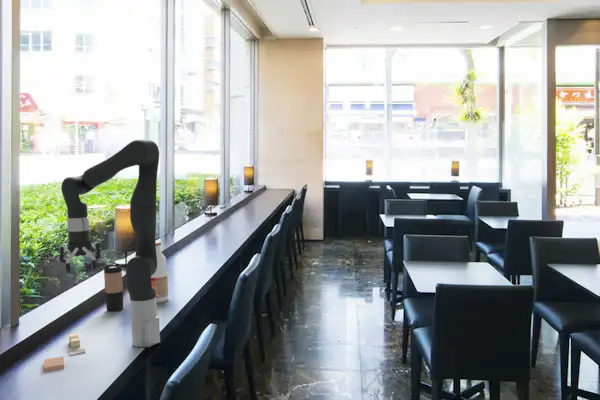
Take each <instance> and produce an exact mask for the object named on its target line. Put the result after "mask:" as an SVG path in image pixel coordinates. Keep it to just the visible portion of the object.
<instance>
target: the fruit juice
mask: <svg viewBox="0 0 600 400" xmlns="http://www.w3.org/2000/svg"><path fill="white" fill-rule="evenodd" d="M155 244H156V255H157V269H156V271H155V273H154V274H153V275H152V276H151V283H152V288H154V289H155V291H156V304H157V303H164V302H166V301H168V300H169V286H168V281H169V280H168V270H167V267H166V265H167V257H166V256H165V255H164V254H163V251H162V249H161V246H162V243H161V242H160V241H155Z"/></svg>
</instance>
